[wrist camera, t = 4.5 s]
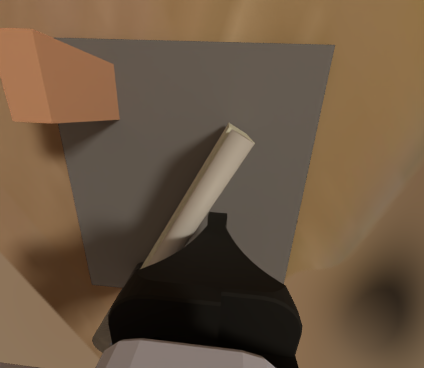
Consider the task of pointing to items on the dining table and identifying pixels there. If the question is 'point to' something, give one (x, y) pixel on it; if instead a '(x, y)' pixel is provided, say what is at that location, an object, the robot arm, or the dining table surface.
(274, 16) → the dining table surface
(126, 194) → the mat
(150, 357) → the robot arm
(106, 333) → the gate post
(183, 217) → the bar
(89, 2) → the dining table surface
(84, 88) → the block
